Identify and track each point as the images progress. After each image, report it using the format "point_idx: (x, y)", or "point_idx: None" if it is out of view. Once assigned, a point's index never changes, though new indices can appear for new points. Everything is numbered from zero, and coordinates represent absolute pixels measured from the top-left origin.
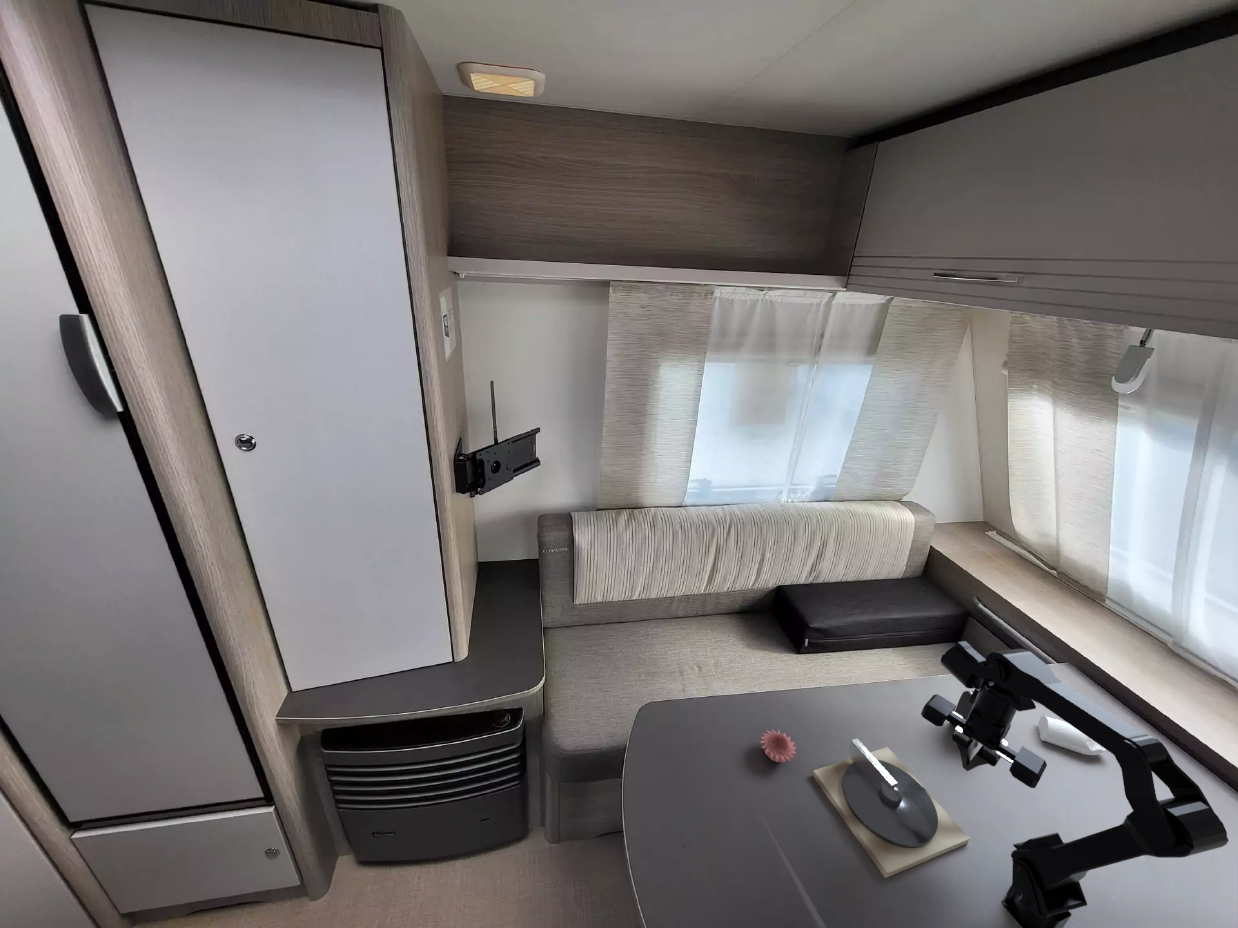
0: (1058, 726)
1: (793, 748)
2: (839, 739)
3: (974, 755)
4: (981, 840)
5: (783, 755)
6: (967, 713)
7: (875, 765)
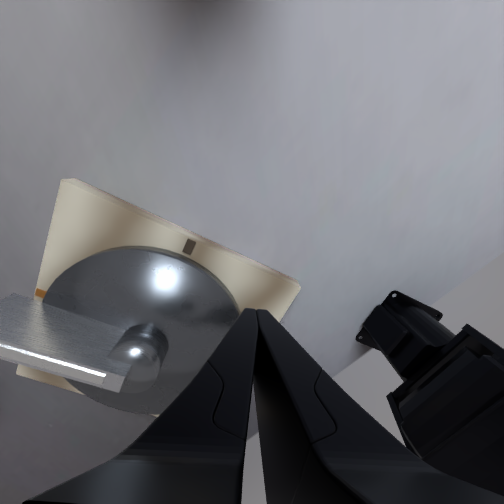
0: None
1: None
2: None
3: (273, 363)
4: (319, 252)
5: None
6: None
7: (56, 370)
